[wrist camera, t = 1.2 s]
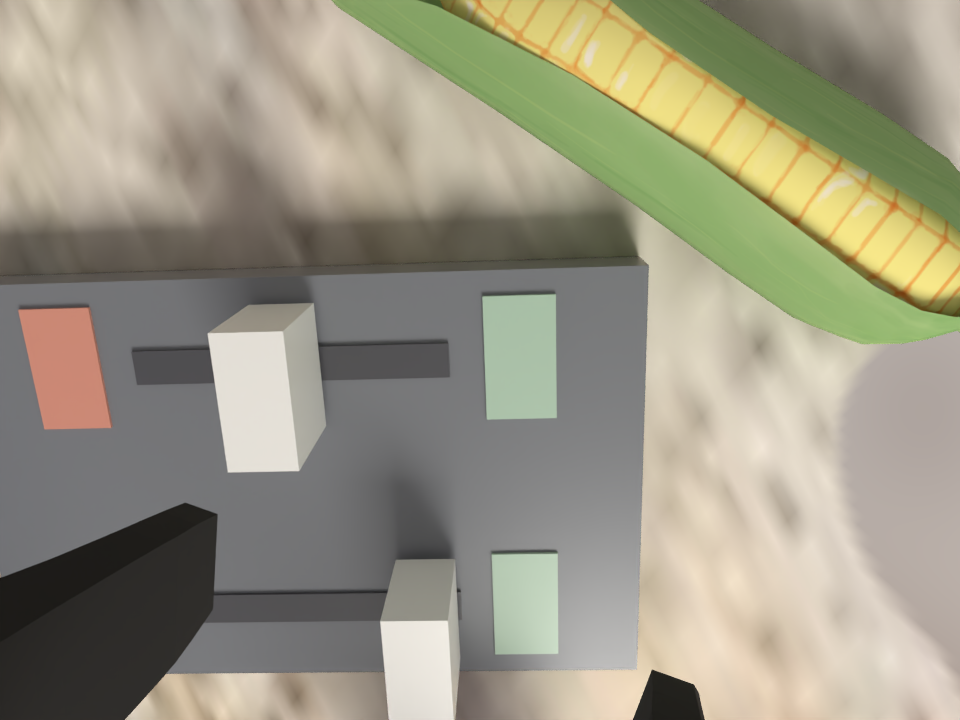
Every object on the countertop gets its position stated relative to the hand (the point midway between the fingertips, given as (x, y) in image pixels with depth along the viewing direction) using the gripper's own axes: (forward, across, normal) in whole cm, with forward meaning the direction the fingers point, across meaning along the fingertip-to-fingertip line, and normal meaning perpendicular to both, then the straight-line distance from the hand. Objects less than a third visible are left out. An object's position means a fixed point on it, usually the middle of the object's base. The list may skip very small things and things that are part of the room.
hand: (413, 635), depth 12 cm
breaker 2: (+9, +2, +8) cm, 12 cm away
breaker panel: (+10, +6, +5) cm, 13 cm away
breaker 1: (+9, +7, +1) cm, 11 cm away
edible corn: (+14, 0, -7) cm, 16 cm away
